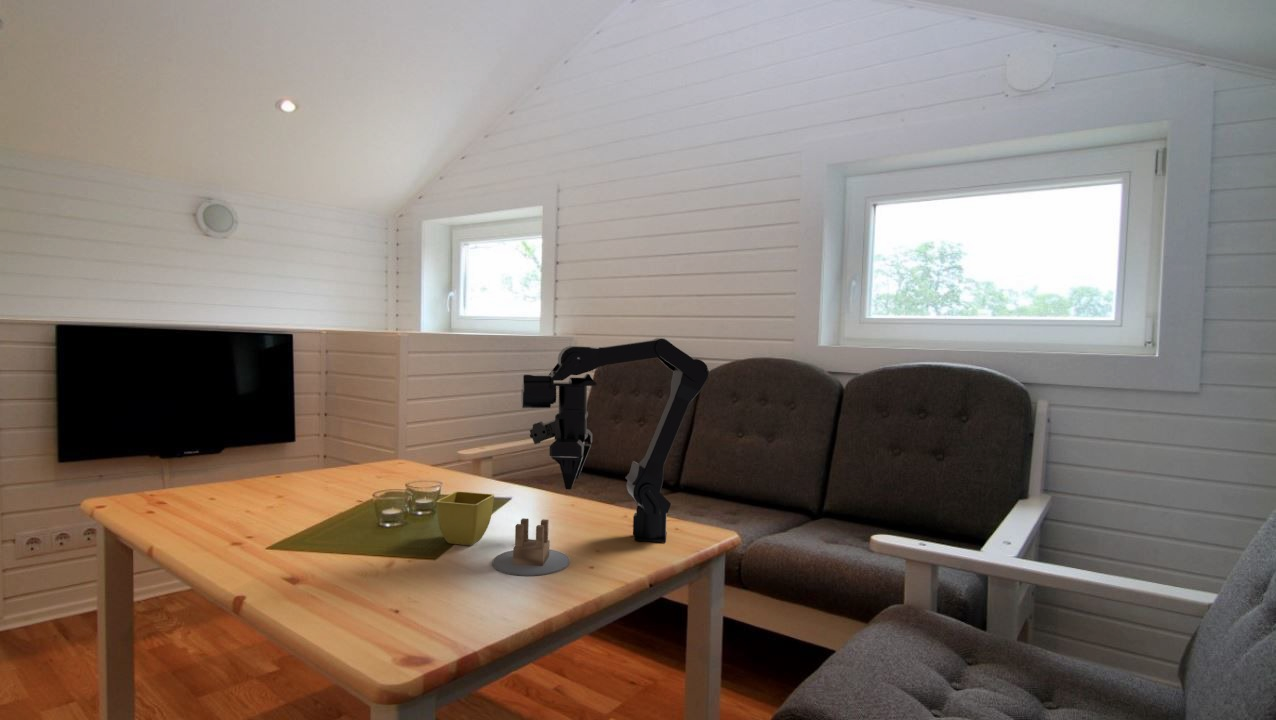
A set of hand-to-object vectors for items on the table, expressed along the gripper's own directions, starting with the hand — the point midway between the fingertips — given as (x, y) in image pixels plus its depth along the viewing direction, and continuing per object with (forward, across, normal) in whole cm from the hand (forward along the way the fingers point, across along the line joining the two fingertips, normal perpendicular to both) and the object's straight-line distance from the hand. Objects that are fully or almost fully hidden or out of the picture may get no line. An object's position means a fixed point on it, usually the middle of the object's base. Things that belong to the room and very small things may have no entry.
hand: (571, 484), depth 136 cm
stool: (+11, +14, -5) cm, 19 cm away
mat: (+12, +14, -5) cm, 19 cm away
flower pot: (+12, +3, -21) cm, 24 cm away
